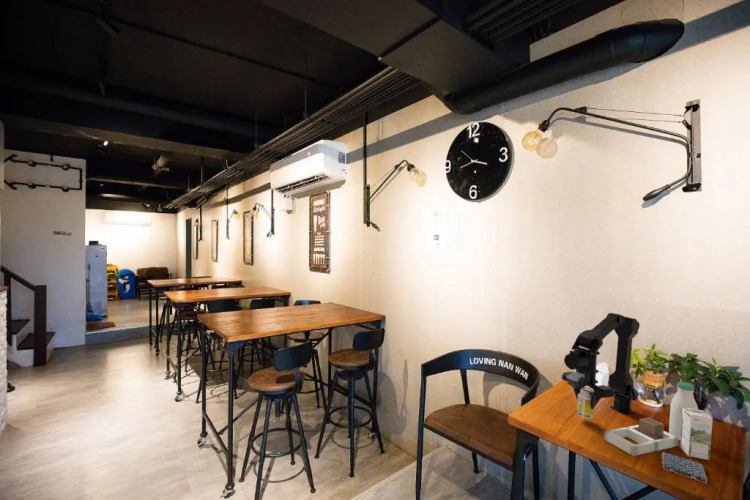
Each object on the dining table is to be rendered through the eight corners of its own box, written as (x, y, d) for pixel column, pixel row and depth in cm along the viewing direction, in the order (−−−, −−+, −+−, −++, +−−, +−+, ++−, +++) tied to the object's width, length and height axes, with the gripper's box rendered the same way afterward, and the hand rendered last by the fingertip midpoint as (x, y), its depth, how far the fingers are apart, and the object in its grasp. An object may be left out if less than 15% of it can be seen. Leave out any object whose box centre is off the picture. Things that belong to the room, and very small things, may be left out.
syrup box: (700, 451, 119) (702, 409, 119) (710, 461, 113) (713, 417, 113) (679, 447, 121) (682, 406, 120) (688, 457, 115) (691, 414, 115)
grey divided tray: (647, 431, 131) (647, 423, 131) (677, 446, 122) (677, 437, 122) (604, 439, 124) (604, 431, 124) (633, 456, 115) (633, 446, 114)
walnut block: (647, 436, 128) (648, 417, 127) (662, 443, 123) (663, 424, 123) (638, 438, 126) (639, 418, 126) (653, 445, 121) (654, 425, 121)
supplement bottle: (595, 416, 136) (596, 390, 136) (590, 420, 133) (591, 394, 133) (580, 410, 141) (581, 385, 141) (574, 414, 137) (575, 389, 137)
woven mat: (661, 471, 108) (662, 464, 108) (660, 455, 116) (660, 449, 116) (708, 486, 102) (708, 479, 102) (703, 469, 110) (703, 462, 110)
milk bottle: (690, 446, 122) (694, 389, 122) (664, 435, 129) (667, 381, 128) (700, 441, 125) (704, 386, 125) (674, 430, 132) (677, 378, 132)
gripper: (552, 359, 143) (550, 397, 143) (594, 376, 125) (592, 419, 125) (573, 357, 146) (571, 394, 147) (616, 374, 129) (614, 416, 129)
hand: (585, 405), depth 137 cm, fingers closed on supplement bottle, 5 cm apart
